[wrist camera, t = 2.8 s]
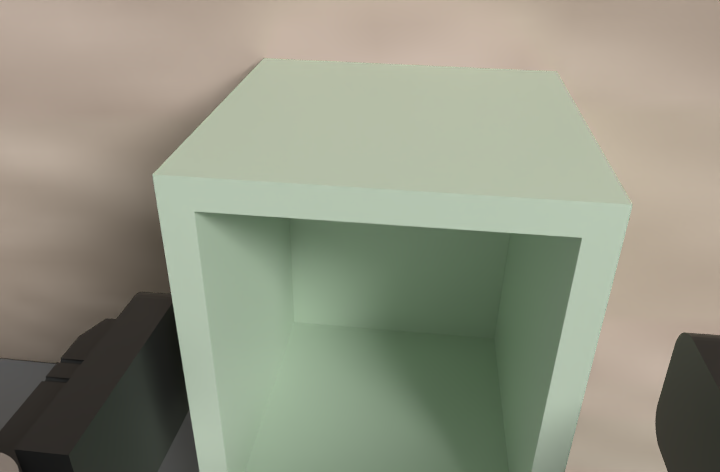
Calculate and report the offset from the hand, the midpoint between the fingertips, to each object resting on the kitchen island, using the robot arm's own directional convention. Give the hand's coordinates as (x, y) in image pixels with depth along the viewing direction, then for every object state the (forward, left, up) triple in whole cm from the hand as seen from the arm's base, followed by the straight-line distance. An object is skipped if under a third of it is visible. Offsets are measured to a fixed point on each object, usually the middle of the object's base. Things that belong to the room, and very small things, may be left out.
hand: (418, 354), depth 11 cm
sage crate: (-1, 0, -5) cm, 5 cm away
